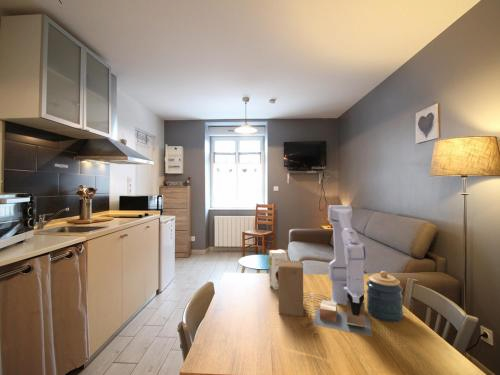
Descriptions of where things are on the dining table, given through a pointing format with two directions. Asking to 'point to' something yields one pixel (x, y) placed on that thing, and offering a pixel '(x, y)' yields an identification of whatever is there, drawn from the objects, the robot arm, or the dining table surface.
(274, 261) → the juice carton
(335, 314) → the ash block
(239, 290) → the dining table surface
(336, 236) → the robot arm
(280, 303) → the wooden block
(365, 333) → the felt mat
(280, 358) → the dining table surface
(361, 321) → the walnut block
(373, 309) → the canister
